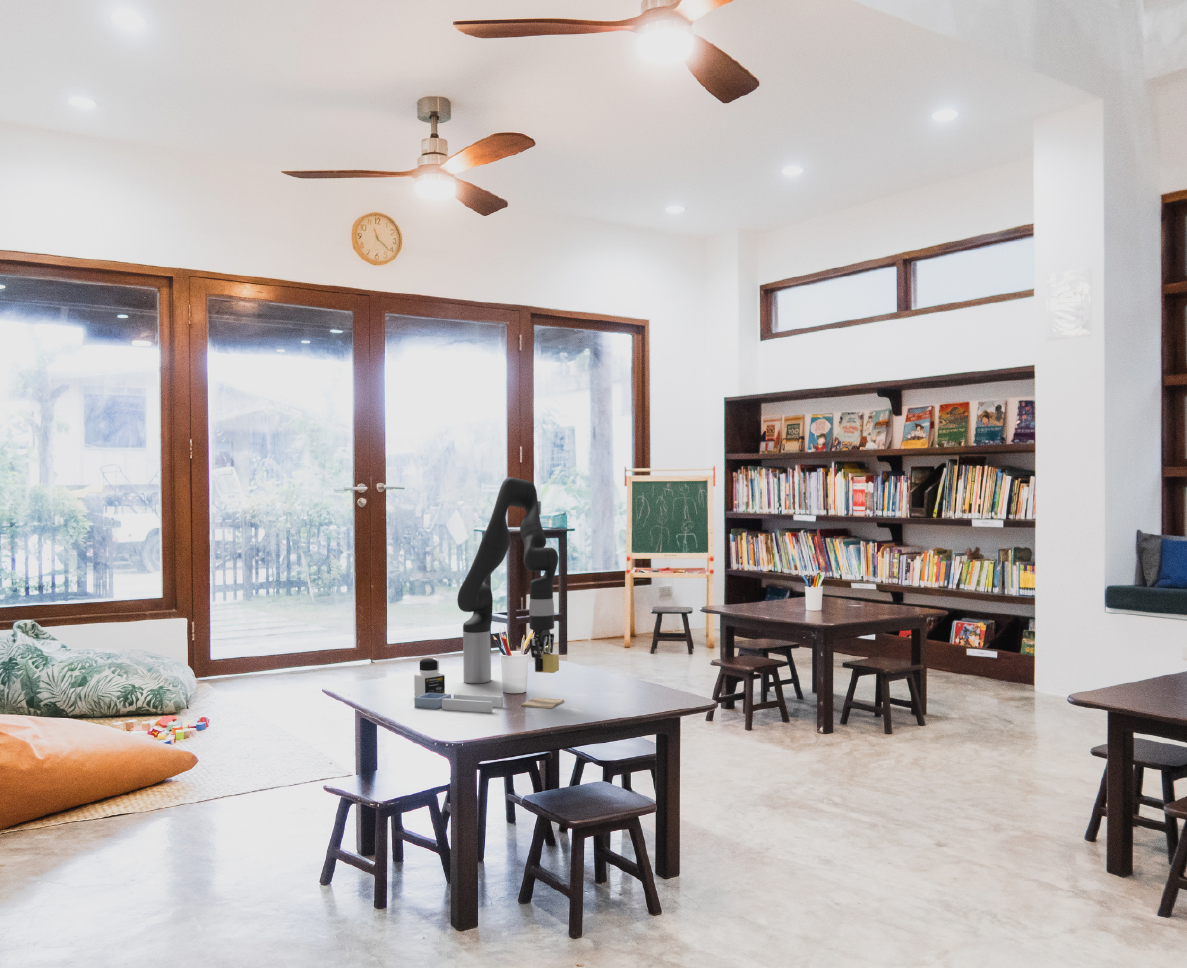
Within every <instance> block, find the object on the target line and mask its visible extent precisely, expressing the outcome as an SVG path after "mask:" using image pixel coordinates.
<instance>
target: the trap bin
mask: <svg viewBox="0 0 1187 968" xmlns="http://www.w3.org/2000/svg"><path fill="white" fill-rule="evenodd" d="M444 698H445V699H452V694H450V693H445V694H440V693H426V694H423V695H421V696H418V697H414V708H421V709H433V710H434V709H435V710H439V709H442V699H444Z"/></svg>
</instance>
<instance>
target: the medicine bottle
mask: <svg viewBox="0 0 1187 968" xmlns="http://www.w3.org/2000/svg"><path fill="white" fill-rule="evenodd" d="M439 671H440V660H439V659H438V658H434V657H427V658H422V659H420V661H419V673H415V674H414V676H413V677H414V681H413V682H414V685H413V686H414V687H413V688H414V698H416V697H418V696H421V695H423V694H426V693H440V694H446V690H445V689H446V684H445V682H446V681H445V677H446V675H445V674H444V673H441V672H439Z"/></svg>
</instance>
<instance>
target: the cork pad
mask: <svg viewBox="0 0 1187 968" xmlns="http://www.w3.org/2000/svg"><path fill="white" fill-rule="evenodd" d="M563 701H564V702H565V699H560V698H559V699H557V698H556V699H555V698H547V697H545V698H541V697H533V698H531V699H529V700H527V701H525V702H523V703H521V704H520V707H521V708H522V707H523V708H536V707H538V708H539V709H551V708H552V709H554V708H555V707H557V706H558V705H560V703H561V704H563V703H564V702H563ZM562 702H563V703H562ZM554 706H555V707H554ZM553 707H554V708H553Z"/></svg>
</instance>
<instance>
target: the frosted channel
mask: <svg viewBox="0 0 1187 968" xmlns="http://www.w3.org/2000/svg"><path fill="white" fill-rule="evenodd" d="M503 707H504V696H499V695H483V694H466V693H455V694H453V698H451V699H445V698H444V699H442V707H441V710H447V711H462V712H472V713H473V712H475V713H487V714H488V713H490V714H491V713H493V708H500V709H501V708H503Z"/></svg>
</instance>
